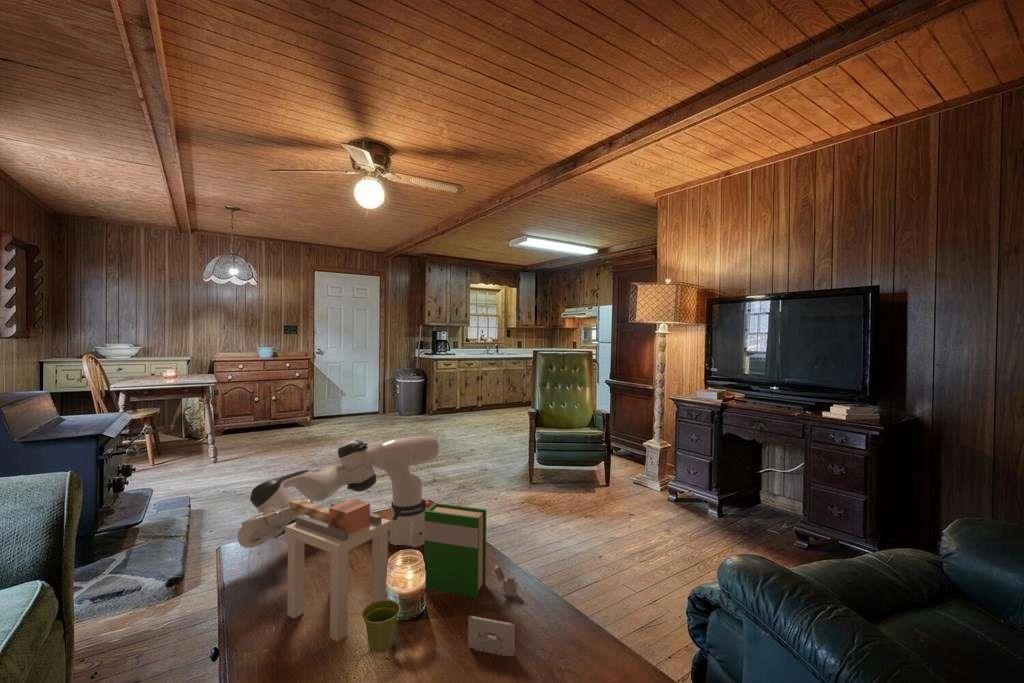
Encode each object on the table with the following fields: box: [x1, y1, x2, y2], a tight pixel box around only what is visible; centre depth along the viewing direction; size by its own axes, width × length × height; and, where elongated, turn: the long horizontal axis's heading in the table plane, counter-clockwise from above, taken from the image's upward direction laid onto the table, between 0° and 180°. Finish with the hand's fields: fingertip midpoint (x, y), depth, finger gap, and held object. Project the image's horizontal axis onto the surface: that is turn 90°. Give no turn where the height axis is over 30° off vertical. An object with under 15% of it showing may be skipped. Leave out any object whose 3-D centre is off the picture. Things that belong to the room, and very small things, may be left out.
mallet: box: [289, 498, 371, 535], centre depth 129 cm, size 29×8×6 cm, turn 60°
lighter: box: [493, 564, 519, 598], centre depth 135 cm, size 7×2×8 cm, turn 73°
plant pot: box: [361, 599, 402, 653], centre depth 112 cm, size 9×9×9 cm
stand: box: [284, 502, 392, 642], centre depth 125 cm, size 22×18×27 cm
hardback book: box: [423, 502, 487, 599], centre depth 139 cm, size 18×7×24 cm, turn 74°
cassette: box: [467, 615, 516, 657], centre depth 110 cm, size 12×2×8 cm, turn 75°
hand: (294, 508), depth 135 cm, fingers open, 8 cm apart
